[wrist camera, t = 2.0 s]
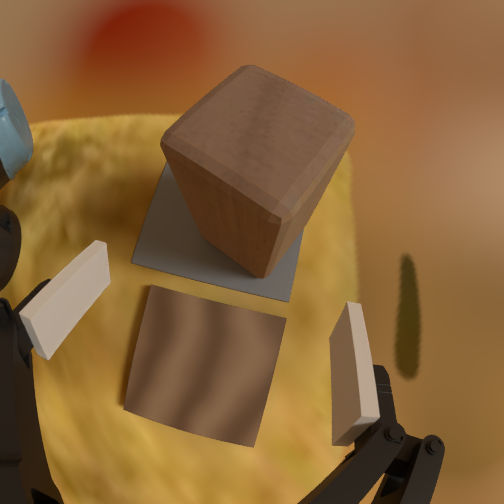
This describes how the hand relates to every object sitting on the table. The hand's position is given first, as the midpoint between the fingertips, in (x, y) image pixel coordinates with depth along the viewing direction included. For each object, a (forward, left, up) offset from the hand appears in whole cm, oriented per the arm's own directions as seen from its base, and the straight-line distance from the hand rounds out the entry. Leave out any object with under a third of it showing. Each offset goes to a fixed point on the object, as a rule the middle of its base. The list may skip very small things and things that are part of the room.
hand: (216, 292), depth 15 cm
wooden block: (0, +11, -20) cm, 22 cm away
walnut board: (-2, -7, -20) cm, 21 cm away
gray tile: (-4, +13, -20) cm, 24 cm away
